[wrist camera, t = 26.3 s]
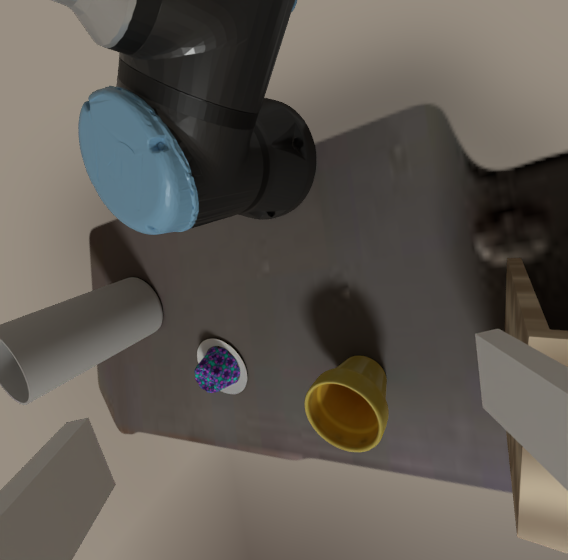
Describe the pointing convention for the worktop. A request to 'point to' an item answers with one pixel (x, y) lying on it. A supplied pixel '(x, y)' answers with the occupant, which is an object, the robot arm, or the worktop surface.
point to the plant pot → (349, 404)
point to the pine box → (523, 466)
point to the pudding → (219, 368)
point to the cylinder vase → (74, 337)
